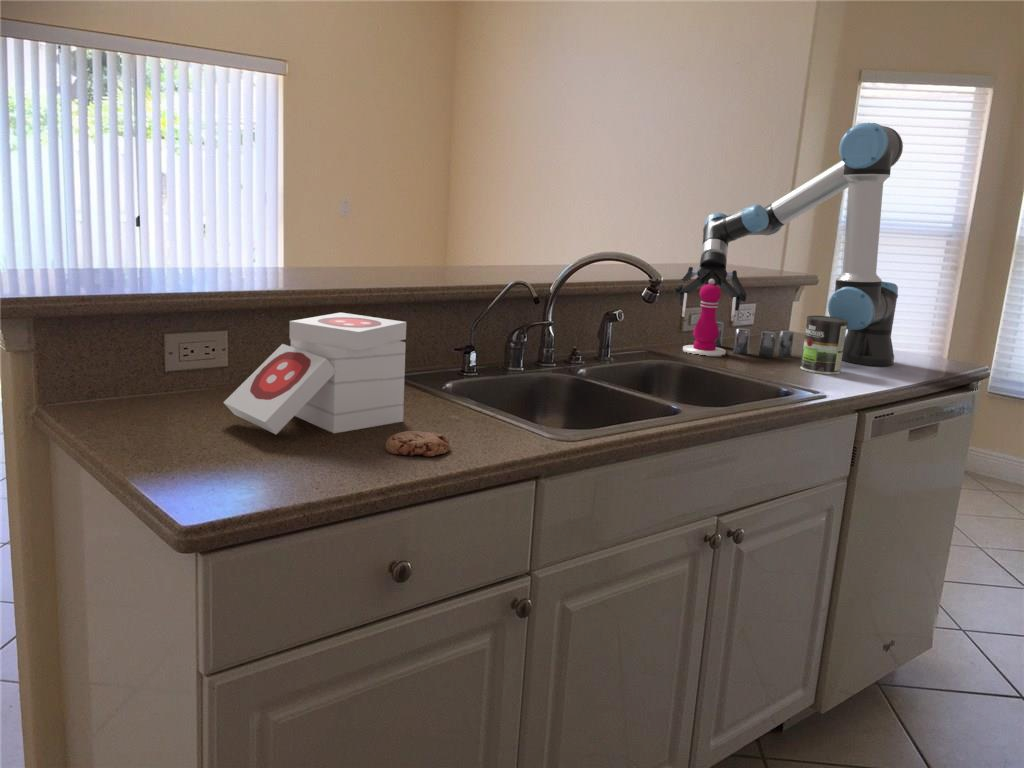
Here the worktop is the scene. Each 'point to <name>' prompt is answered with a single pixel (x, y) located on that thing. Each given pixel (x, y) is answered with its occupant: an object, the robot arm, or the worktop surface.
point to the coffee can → (823, 345)
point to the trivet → (702, 352)
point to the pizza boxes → (329, 376)
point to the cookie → (418, 443)
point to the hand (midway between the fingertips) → (707, 316)
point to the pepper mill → (707, 318)
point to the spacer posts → (765, 343)
